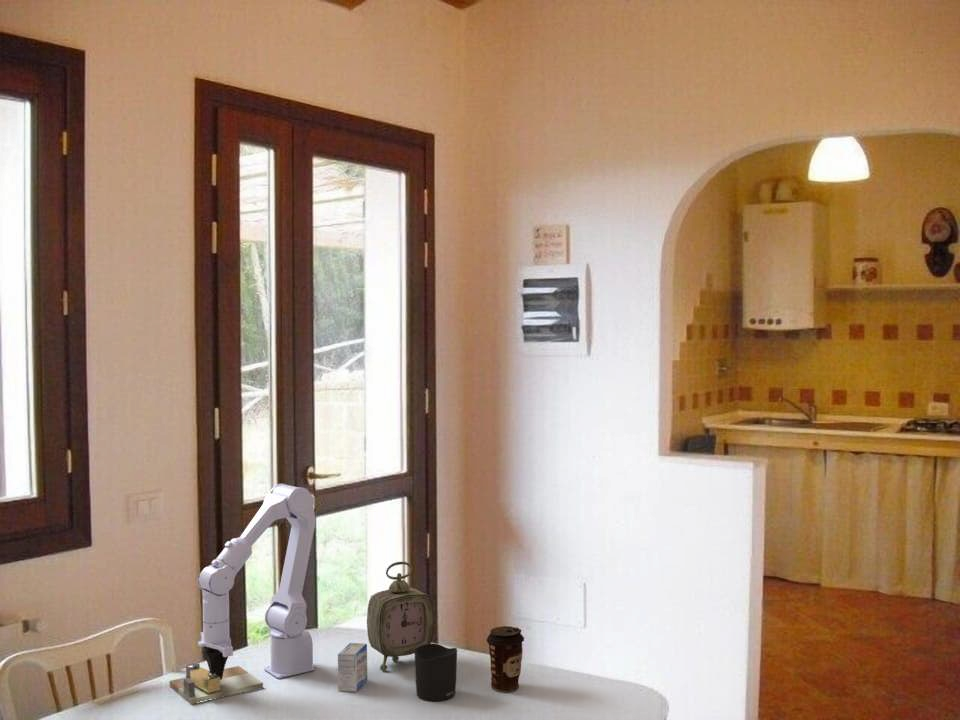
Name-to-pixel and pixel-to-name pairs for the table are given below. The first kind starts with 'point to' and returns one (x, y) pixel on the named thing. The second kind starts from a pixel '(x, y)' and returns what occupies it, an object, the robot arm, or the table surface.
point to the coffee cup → (505, 657)
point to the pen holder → (435, 672)
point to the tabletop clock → (399, 619)
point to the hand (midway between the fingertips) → (216, 680)
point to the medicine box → (352, 667)
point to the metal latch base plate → (230, 684)
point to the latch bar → (203, 677)
